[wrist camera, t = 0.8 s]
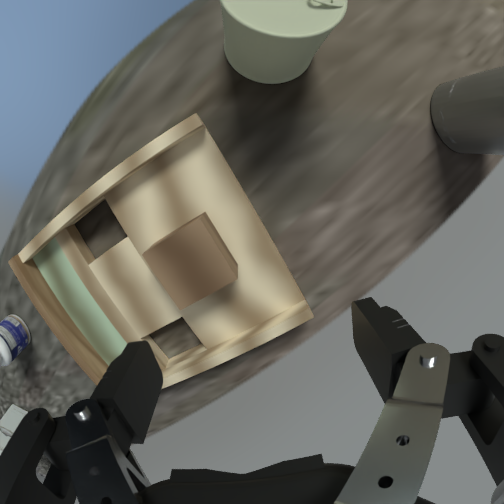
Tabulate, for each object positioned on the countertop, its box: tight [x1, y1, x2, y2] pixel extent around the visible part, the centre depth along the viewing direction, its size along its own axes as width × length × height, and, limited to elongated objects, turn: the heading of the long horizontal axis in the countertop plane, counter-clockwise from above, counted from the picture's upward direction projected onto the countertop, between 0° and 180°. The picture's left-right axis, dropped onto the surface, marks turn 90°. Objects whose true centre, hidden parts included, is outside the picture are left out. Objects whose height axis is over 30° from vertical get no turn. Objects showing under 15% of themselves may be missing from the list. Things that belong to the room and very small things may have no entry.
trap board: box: [8, 113, 314, 389], centre depth 29 cm, size 26×22×5 cm
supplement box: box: [0, 404, 28, 455], centre depth 32 cm, size 7×7×13 cm
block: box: [142, 212, 238, 310], centre depth 27 cm, size 6×6×4 cm
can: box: [220, 0, 347, 84], centre depth 19 cm, size 9×9×12 cm
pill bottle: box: [0, 315, 31, 367], centre depth 29 cm, size 5×5×9 cm
